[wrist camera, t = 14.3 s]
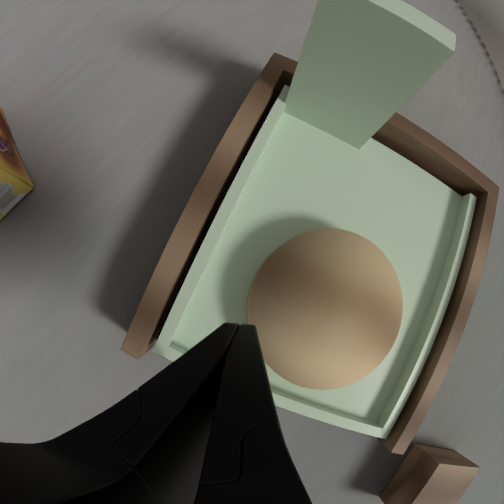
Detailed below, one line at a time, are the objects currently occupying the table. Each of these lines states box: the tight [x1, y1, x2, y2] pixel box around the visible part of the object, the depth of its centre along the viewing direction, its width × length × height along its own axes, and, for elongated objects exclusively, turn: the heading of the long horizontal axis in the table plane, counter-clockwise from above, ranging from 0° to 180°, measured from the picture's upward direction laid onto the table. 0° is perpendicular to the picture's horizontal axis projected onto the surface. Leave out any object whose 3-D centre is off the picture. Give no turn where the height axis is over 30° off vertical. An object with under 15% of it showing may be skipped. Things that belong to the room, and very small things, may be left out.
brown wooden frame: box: [120, 53, 499, 455], centre depth 17 cm, size 18×17×3 cm
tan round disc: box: [247, 228, 403, 390], centre depth 16 cm, size 8×8×2 cm
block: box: [379, 443, 480, 504], centre depth 16 cm, size 5×5×4 cm
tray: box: [153, 0, 477, 439], centre depth 13 cm, size 16×14×11 cm
